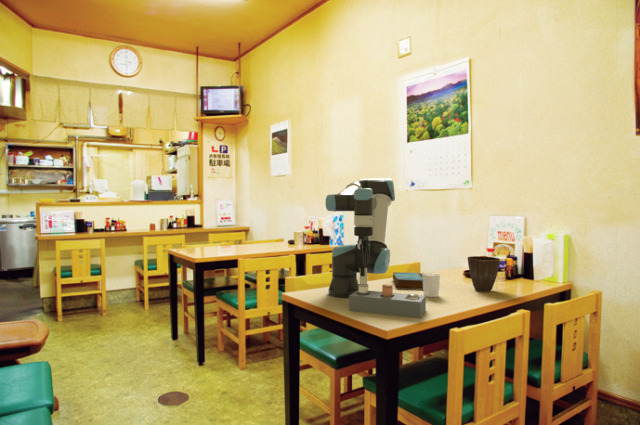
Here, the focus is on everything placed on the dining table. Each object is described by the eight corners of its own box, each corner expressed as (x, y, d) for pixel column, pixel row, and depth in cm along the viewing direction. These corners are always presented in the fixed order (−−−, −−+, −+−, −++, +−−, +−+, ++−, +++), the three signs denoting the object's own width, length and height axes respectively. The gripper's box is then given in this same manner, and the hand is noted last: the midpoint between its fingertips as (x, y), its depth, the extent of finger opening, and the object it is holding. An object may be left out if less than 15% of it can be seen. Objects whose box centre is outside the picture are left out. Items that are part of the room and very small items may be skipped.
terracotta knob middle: (381, 299, 159) (381, 286, 159) (383, 297, 163) (383, 284, 163) (391, 300, 157) (391, 286, 157) (393, 298, 161) (393, 285, 161)
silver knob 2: (406, 309, 155) (406, 295, 155) (408, 307, 159) (408, 293, 159) (416, 310, 153) (417, 296, 153) (418, 308, 157) (418, 294, 157)
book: (432, 290, 201) (432, 280, 201) (396, 289, 202) (396, 279, 202) (424, 281, 223) (424, 272, 223) (392, 281, 225) (392, 272, 225)
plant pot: (504, 290, 198) (504, 257, 198) (493, 295, 187) (493, 261, 187) (474, 286, 208) (474, 255, 208) (462, 290, 197) (462, 258, 197)
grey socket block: (349, 310, 160) (349, 295, 160) (358, 303, 171) (358, 289, 171) (420, 318, 149) (420, 302, 149) (425, 310, 160) (425, 295, 160)
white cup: (440, 298, 182) (440, 276, 182) (422, 297, 183) (422, 275, 183) (439, 294, 189) (439, 273, 189) (421, 293, 191) (421, 272, 191)
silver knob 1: (357, 298, 163) (357, 284, 163) (360, 296, 167) (360, 283, 167) (366, 299, 161) (366, 285, 161) (369, 297, 165) (369, 283, 165)
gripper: (367, 227, 156) (367, 287, 156) (376, 225, 168) (376, 281, 168) (349, 226, 159) (349, 285, 159) (359, 225, 171) (359, 280, 171)
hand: (363, 283), depth 164 cm, fingers closed
